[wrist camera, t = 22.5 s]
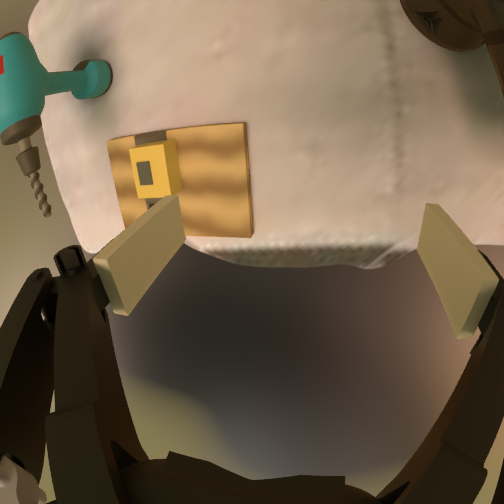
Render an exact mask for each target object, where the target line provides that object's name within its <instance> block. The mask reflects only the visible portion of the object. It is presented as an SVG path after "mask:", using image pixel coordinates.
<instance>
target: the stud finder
mask: <svg viewBox="0 0 504 504" xmlns="http://www.w3.org/2000/svg"><path fill="white" fill-rule="evenodd" d="M129 153H130V158H131V164H132V170H133V175H134V180H135V185H136V190H137V195H138V199H140V198H162V197H164V196H166V195H175V194H176V193H177V192H178V191H180V190H181V189H182V182H181V176H180V169H179V162H178V155H177V147H176V140H175V139H173V140H165V141H158V142H150V143H144V144H140V145H138V146H135V147H133V148H130V149H129Z"/></svg>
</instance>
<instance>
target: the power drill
mask: <svg viewBox="0 0 504 504" xmlns="http://www.w3.org/2000/svg"><path fill="white" fill-rule="evenodd" d="M111 81H112V71H111V68H110V66H109V64H108V63H107V62H106V61H104V60H85V61H82V62H80V63H79V64H78V65H77V66H76V67H75V68H74V69H73V71H63V72H48V71H47V70H46V69H45V67H44V66H43V65H42V64H41V63H40V61H39V59H38V57H37V54H36V52H35V49H34V47H33V45H32V43H31V42H30V40H29V39H28V38H27V37H26V36H25V35H24V34H22V33H19V32H10V33H8V34H5V35H4V36H2V37H1V38H0V137H1V141H2V144H3V145H10V144H14V143H18V145H19V149H20V154H19V155H18V156H17V157H16V160H17V162H18V164H19V166H20V168H21V170H22V172H23V174H24V175H25V176H27V175H28V177H29V178H31V186H32V188H33V189H34V190H35V197H36V198H37V199H38V201H39V208H40V209H41V210H42V211H43V214H44V216H45V217H49V216H50V215H51V206H50V205H49V204H48V202H47V195H46V194H44V192H43V184H42V183H40V181H39V173H38V172H37V170H39V169H40V167H41V166H40V158H39V149H38V147H32V145H31V142H30V138H29V137H30V136H31V135H32V134H33V133H35V132H36V131H37V130H38V129H39V128H40V127H41V126H42V122H41V117H40V115H41V113H42V111H43V108H44V104H45V96H46V95H51V94H56V93H62V92H68V91H71V92H72V94H73V95H74V97H75V98H77V99H88V98H94V97H98V96H101V95H102V94H104V93H105V92H106V91H107V90H108V88H109V87H110V84H111Z"/></svg>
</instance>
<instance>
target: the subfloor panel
mask: <svg viewBox="0 0 504 504" xmlns="http://www.w3.org/2000/svg"><path fill="white" fill-rule="evenodd" d="M173 139H175V140H176V147H177V155H178V162H179V169H180V176H181V182H182V189H181V190H180V191H178V192H177V193H176V194H175V195H178V198H179V204H180V210H181V216H182V221H183V227H184V232H185V236H210V237H239V238H251V237H252V235H253V217H252V203H251V188H250V174H249V159H248V145H247V131H246V122H241V123H225V124H213V125H202V126H193V127H184V128H176V129H168V130H161V131H155V132H148V133H142V134H137V135H131V136H126V137H121V138H116V139H112V140H109V141H107V147H108V153H109V158H110V163H111V168H112V173H113V178H114V183H115V188H116V192H117V197H118V201H119V205H120V209H121V213H122V217H123V221H124V225H125V229H126V228H127V227H128V226H129V225H130V224H132V223H133V222H134V221H135V220H136V219H137V218H139V217H140V216H141V215H142V214H143V213H145V212H146V211H147V210H148V209H150V208H151V207H152V206H153V205H154V204H156V203H157V202H158V201H159V200H161V199H162V198H163V197H162V198H140V199H138V195H137V190H136V185H135V180H134V175H133V170H132V164H131V158H130V153H129V149H130V148H133V147H135V146H138V145H140V144H144V143H150V142H158V141H165V140H173Z"/></svg>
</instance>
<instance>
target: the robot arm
mask: <svg viewBox="0 0 504 504" xmlns="http://www.w3.org/2000/svg"><path fill="white" fill-rule="evenodd" d="M400 1H401V4H402V7H403V9H404V11H405V13H406V14H407V16H408V18H409V19H410V20H411V22H412V23H413V24H414V25H415V27H416V28H417V29H418V30H419V31H420V32H421V33H422V34H424V35H425V36H426V37H427V38H429V39H430V40H431V41H433V42H434V43H436V44H438V45H440V46H442V47H444V48H447V49H450V50H454V51H467V50H473V49H476V48H478V47H480V46H482V45H483V44H484V43H486V45H487V48H488V51H489V54H490V56H491V59H492V62H493V64H494V67H495V70H496V73H497V76H498V79H499V83H500V86H501V89H502V93H503V96H504V0H400ZM185 240H186V238H185V232H184V227H183V221H182V216H181V210H180V204H179V198H178V195H166V196H164V197H163V198H162V199H161V200H159V201H158V202H157V203H156V204H154V205H153V206H152V207H151V208H150V209H148V210H147V211H146V212H145V213H143V214H142V215H141V216H140V217H139V218H137V219H136V220H135V221H134V222H133V223H132V224H130V225H129V226H128V227H127V228H126V229H125V230H123V231H122V232H121V233H120V234H119V235H118V236H117V237H115V238H114V239H112V240H111V241H110V242H109V243H108V244H107V245H106V246H104V247H103V248H102V249H101V251H99V252H98V253H97V254H96V255H95V256H94V257H92V258H91V259H90V260H89V261H88V262H87V263H86V260H85V257H84V254H83V252H82V249H81V246H79V245H72V246H68V247H66V248H64V249H62V250H60V251H59V252H58V253H57V254H56V255H55V256H54V261H55V263H56V265H57V268H58V271H59V273H60V276H58V277H52V274H51V273H50V270H49V268H41V269H37V270H35V271H34V272H33V273H32V274H31V275H30V276H29V277H28V278H27V280H26V281H25V283H24V285H23V286H22V288H21V290H20V292H19V294H18V295H17V297H16V299H15V300H14V302H13V304H12V306H11V308H10V310H9V312H8V314H7V316H6V318H5V320H4V322H3V324H2V326H1V328H0V504H45V503H46V500H47V499H46V494H45V492H44V491H43V490H42V489H40V488H39V486H38V485H39V482H40V479H41V474H42V469H43V463H44V455H45V445H46V443H47V450H48V459H49V465H50V471H51V477H52V482H53V487H54V491H55V496H56V500H54V501H51V502H49V503H46V504H473V502H474V500H475V498H476V497H477V495H478V493H479V491H480V490H481V488H482V486H483V484H484V482H485V479H486V477H487V469H485V468H484V462H485V460H486V458H487V455H488V454H489V451H490V449H491V447H492V445H493V442H494V440H495V438H496V435H497V433H498V430H499V428H500V425H501V423H502V420H503V417H504V279H503V278H502V277H501V275H500V274H499V272H498V271H497V270H496V268H495V267H494V265H493V264H491V261H490V260H489V259H488V257H487V256H486V255H484V254H483V253H482V252H481V251H479V250H477V249H476V248H475V246H474V245H473V244H472V242H471V241H470V240H469V239H468V238H467V236H466V235H465V234H464V233H463V232H462V230H461V229H460V228H459V227H458V226H457V225H456V223H455V222H454V221H453V220H452V219H451V218H450V217H449V215H448V214H447V213H446V212H445V211H444V210H443V209H442V208H441V207H440V206H439V205H438V204H430V203H426V206H425V212H424V217H423V222H422V227H421V232H420V237H419V242H418V246H417V252H418V253H419V255H420V257H421V259H422V261H423V263H424V265H425V267H426V269H427V271H428V273H429V275H430V277H431V279H432V282H433V283H434V286H435V288H436V290H437V292H438V294H439V296H440V299H441V301H442V303H443V306H444V308H445V310H446V313H447V315H448V318H449V320H450V323H451V325H452V328H453V330H454V333H455V335H456V338H457V339H461V338H472V336H473V334H474V332H475V331H476V329H477V327H479V329H480V331H481V334H480V336H479V338H478V340H477V342H476V344H475V345H474V347H473V348H472V350H471V352H470V354H471V356H470V359H469V361H468V363H467V365H466V367H465V369H464V371H463V373H462V375H461V377H460V380H459V381H458V384H457V386H456V387H455V389H454V391H453V393H452V395H451V397H450V398H449V400H448V402H447V404H446V406H445V407H444V409H443V411H442V412H441V414H440V416H439V417H438V419H437V421H436V422H435V424H434V425H433V427H432V428H431V430H430V432H429V433H428V435H427V436H426V438H425V439H424V441H423V442H422V443H421V445H420V446H419V448H418V449H417V451H416V452H415V453H414V455H413V456H412V458H411V459H410V460H409V461H408V463H407V464H406V465H405V467H404V468H403V469H402V470H401V471H400V473H399V474H398V475H397V476H396V477H395V478H394V479H393V480H392V481H391V482H390V483H389V484H388V485H387V486H386V487H385V488H384V489H383V490H382V491H381V492H380V493H379V494H378V495H377V496H376V497H374V496H372V495H371V494H369V493H368V492H366V491H364V490H361V489H359V488H356V487H353V486H350V485H346V484H345V476H310V475H297V476H291V477H283V478H274V479H264V480H250V479H247V478H244V477H242V476H240V475H237V474H235V473H233V472H230V471H228V470H226V469H224V468H221V467H219V466H217V465H215V464H213V463H211V462H209V461H205V460H201V459H197V458H192V457H189V456H185V455H182V454H178V453H175V452H171V451H169V453H168V456H167V458H166V459H153V460H149V458H148V456H147V455H146V453H145V452H144V450H143V448H142V446H141V444H140V442H139V439H138V437H137V434H136V430H135V427H134V424H133V421H132V418H131V414H130V411H129V408H128V404H127V401H126V397H125V394H124V389H123V386H122V382H121V378H120V373H119V369H118V365H117V360H116V356H115V351H114V346H113V341H112V335H111V330H110V324H109V318H108V313H107V311H106V309H105V307H106V306H107V305H108V304H109V302H110V304H111V307H112V309H113V311H114V313H116V314H121V315H127V316H128V315H129V314H130V312H131V311H132V310H133V308H134V307H135V305H136V304H137V303H138V301H139V300H140V299H141V297H142V296H143V295H144V293H145V292H146V291H147V289H148V288H149V287H150V285H151V284H152V283H153V281H154V280H155V279H156V277H157V276H158V275H159V273H160V272H161V271H162V269H163V268H164V267H165V265H166V264H167V263H168V262H169V260H170V259H171V258H172V256H173V255H174V254H175V253H176V251H177V250H178V249H179V248H180V246H181V245H182V244H183V243H184V241H185ZM41 312H42V314H43V316H44V317H45V319H44V321H43V319H42V315H41ZM53 391H54V394H55V412H52V413H50V407H51V402H52V396H53ZM491 504H504V460H503V464H502V468H501V472H500V476H499V480H498V483H497V487H496V490H495V494H494V496H493V500H492V503H491Z"/></svg>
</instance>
